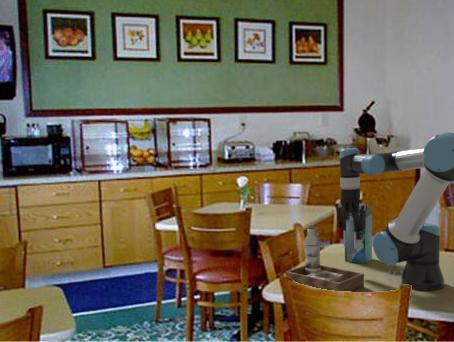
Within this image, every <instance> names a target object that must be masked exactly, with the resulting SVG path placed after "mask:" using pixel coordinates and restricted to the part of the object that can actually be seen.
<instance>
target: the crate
mask: <svg viewBox="0 0 454 342" xmlns="http://www.w3.org/2000/svg"><path fill="white" fill-rule="evenodd" d="M305 265H306V264H304V265H302V266H299V267H296V268H292V269H289V270H287V271H285V277H286V276H288V277H290V278H292V279H293V280H294V281H295V282H298V283H300V284H304V285H308V286H312V287H316V288H321V289H327V290H335V291H353V292H355V291H358V290H361V289H362V288H365V273H362V272H357V271H351V270H346V269H341V268H337V267H333V266H332V267H331V266H327V265H323V264H322V265H321V264H320V267H321V270H320V271H317V272H315V273H312V274H309V275H305V273H304V272H305Z"/></svg>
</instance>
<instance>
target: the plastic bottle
mask: <svg viewBox="0 0 454 342" xmlns="http://www.w3.org/2000/svg"><path fill="white" fill-rule="evenodd" d="M306 234H307V235H306V237H305V238H304V240H303V246H304V252H305V264H304V265H305V272H304V273H305V275H309V274H312V273H315V272H317V271H320V270H321V267H320V265H321V261H320V258H321V257H320V256H321V247H322V246H321V245H322V242H321V239H320V237H319V236H318V227H308V228H307V233H306Z"/></svg>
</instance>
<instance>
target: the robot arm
mask: <svg viewBox="0 0 454 342" xmlns="http://www.w3.org/2000/svg"><path fill="white" fill-rule="evenodd" d="M338 160H339V182H340V190H339V191H340V198H341V199H340V202H336V203H334V207H335V211H336V227H337V228H338V229H340V230H341V237H342V239H343V248H345V247H346V219H349V213H350V212H351V214H352V216H353V221H354V226H355V232H354V248H355V249H356V248H359V240H360V239H361V231H362V230H365V227H366V209H367V206H368V205H367V204H364V203H363V204H364V205H363V204H361V203H362V202H361V200H360V199H361V188H360V187H361V175H368V176H376V175H378V176H379V175H380V174H384V173H393V172H402V171H408V170H409V171H410V170H415V169H416V170H417V169H424V171H423V172H422V173H421V176H420V177H419V180H418V181H417V182H416V185H415V186H414V189H412V192H411V193H410V194H409V197H408V199H407V200H406V202H405V204H404V206H403V207H402V209H400V210H401V211H400V212H399V214H398V216H397V218H396V219H392V220H390V221H389V223H388V224H387V226H386V227H385V229H384V230H383V231H378V232H376V233H375V234H374V236H373V237H372V249H373V252H374V254H375V257H376V258H377V259H378V261H380V262H381V263H383V264H385V265H395V264H399V263H403V262H405V265H404V268H403V272H402V274H401V277H400V280H401V281H400V283H401V285H402V284H409V285H412V290H419V291H435V290H440V289H442V288H444V287H445V278H444V275H443V272H442V269H441V267H440V266H441V265H440V249H441V247H440V246H441V245H440V244H441V243H440V241H441V235H440V228H439V226H438V225H436V224H433V223H428V222H426V221H427V220H428V219H429V216H430V214H432V211H433V210H434V209H435V207H436V205H437V203H438V202H439V200H440V198H441V197H442V196H443V194H444V192H445V191H446V189H447V187H448V186H449V184H450V183H454V133H453V132H445V133H441V134H436V135H433V136H432V137H431V138H429V139H428V141H426V143H425V145H424V146H419V147H415V148H410V149H404V150H396V151H391V152H390V151H389V152H380V153H379V152H378V153H377V152H376V153H365V154H364V153H360V149H359V148H357V147H352V148H350V147H349V148H341V149H340V150H339V159H338ZM359 207H360V208H359ZM358 208H359V209H360V220H359V214H358V213H359V211H358Z"/></svg>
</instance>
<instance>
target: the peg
mask: <svg viewBox="0 0 454 342" xmlns="http://www.w3.org/2000/svg"><path fill="white" fill-rule="evenodd" d="M354 232H355V226H354V221H353V219H346V249H347V253H350V254H354V253H357V248H356V249H355V248H354Z"/></svg>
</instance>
